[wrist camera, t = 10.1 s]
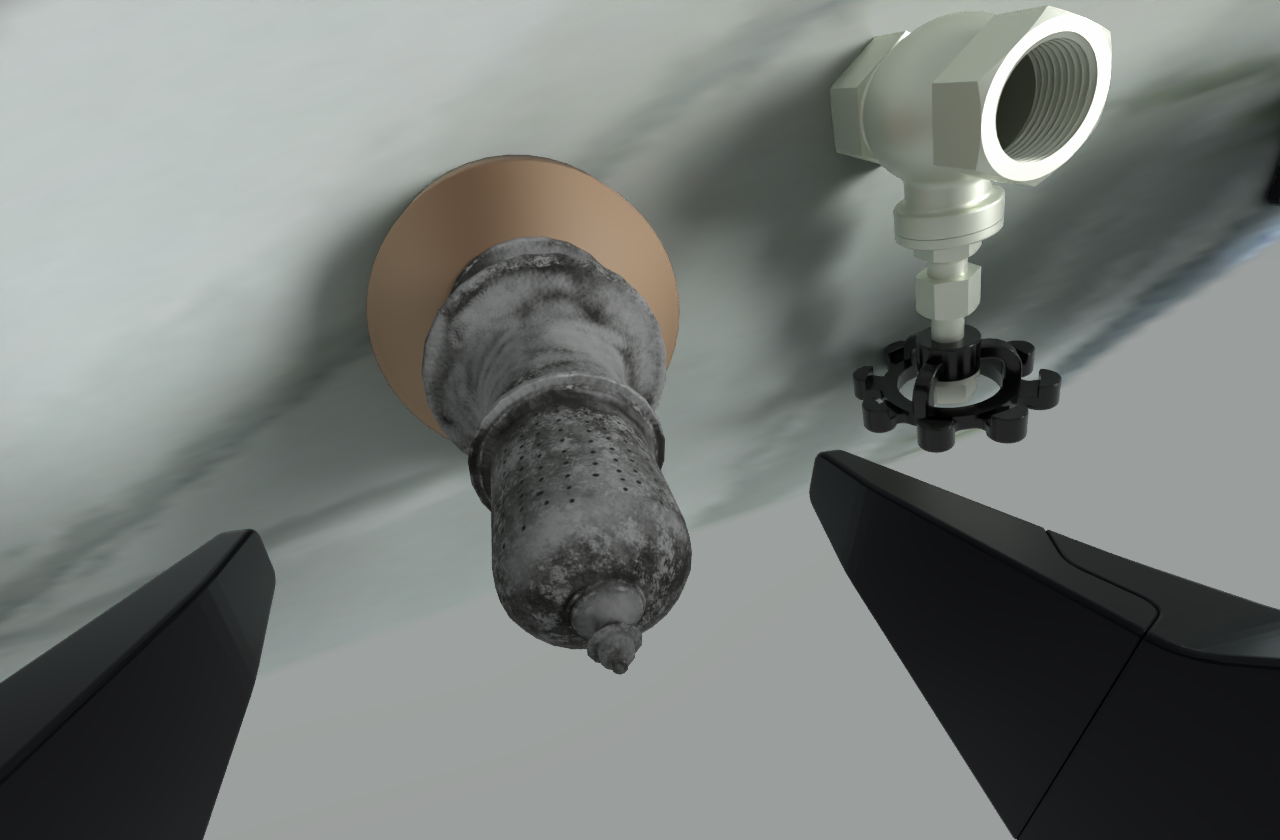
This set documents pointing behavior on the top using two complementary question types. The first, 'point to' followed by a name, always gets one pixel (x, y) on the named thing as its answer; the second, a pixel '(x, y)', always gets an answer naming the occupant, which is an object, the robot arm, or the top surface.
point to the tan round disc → (488, 215)
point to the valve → (966, 191)
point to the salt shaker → (562, 442)
